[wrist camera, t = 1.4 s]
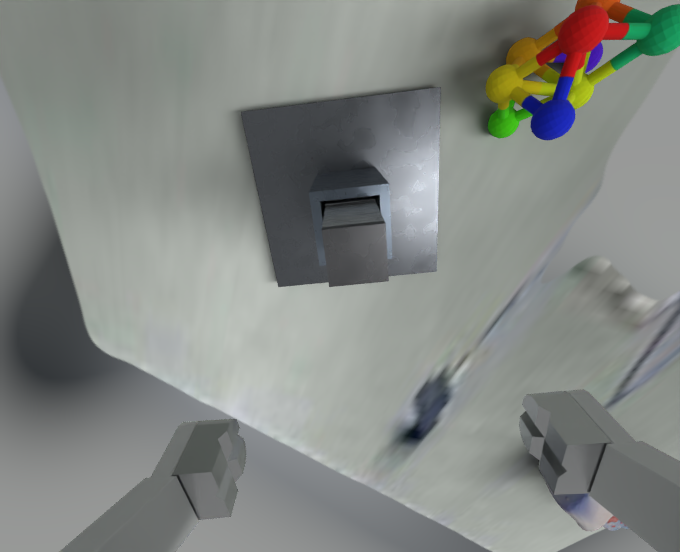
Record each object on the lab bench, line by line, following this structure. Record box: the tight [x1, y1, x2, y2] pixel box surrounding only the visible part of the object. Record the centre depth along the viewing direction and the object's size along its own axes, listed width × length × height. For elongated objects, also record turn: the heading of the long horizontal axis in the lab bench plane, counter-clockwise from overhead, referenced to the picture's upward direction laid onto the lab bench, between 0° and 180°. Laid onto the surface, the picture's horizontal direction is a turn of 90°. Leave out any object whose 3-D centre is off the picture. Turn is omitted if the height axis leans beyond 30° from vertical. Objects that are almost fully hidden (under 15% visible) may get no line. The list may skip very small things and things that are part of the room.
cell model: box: [539, 461, 628, 532], centre depth 53 cm, size 13×11×20 cm
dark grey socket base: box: [241, 87, 441, 287], centre depth 32 cm, size 20×20×12 cm
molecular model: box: [485, 0, 680, 140], centre depth 27 cm, size 12×7×12 cm, turn 130°
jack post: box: [322, 196, 389, 287], centre depth 28 cm, size 4×4×17 cm
